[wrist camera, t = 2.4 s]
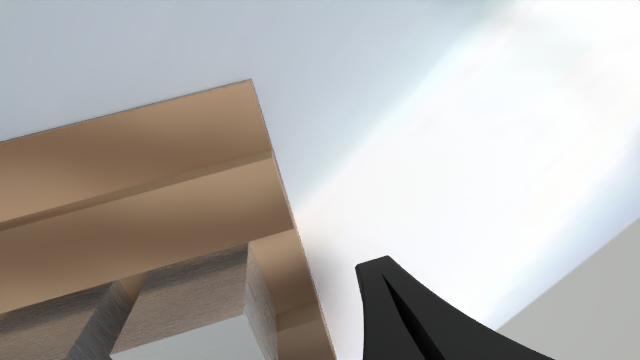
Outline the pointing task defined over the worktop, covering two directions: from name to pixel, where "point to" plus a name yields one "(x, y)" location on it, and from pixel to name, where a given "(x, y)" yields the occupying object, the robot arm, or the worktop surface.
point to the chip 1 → (67, 326)
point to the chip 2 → (202, 311)
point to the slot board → (154, 206)
